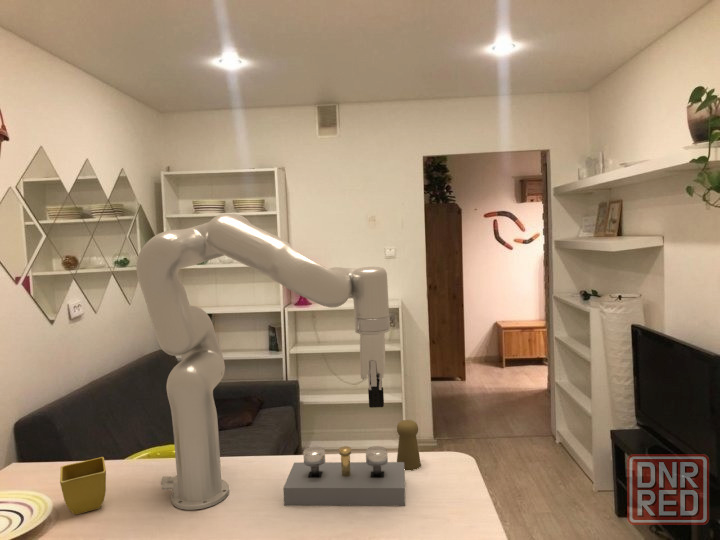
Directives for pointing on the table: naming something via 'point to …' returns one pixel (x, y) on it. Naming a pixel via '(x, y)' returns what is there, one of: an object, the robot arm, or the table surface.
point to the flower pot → (84, 485)
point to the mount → (345, 485)
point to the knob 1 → (314, 459)
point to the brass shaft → (345, 460)
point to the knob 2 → (376, 459)
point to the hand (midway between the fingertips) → (376, 405)
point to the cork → (408, 445)
